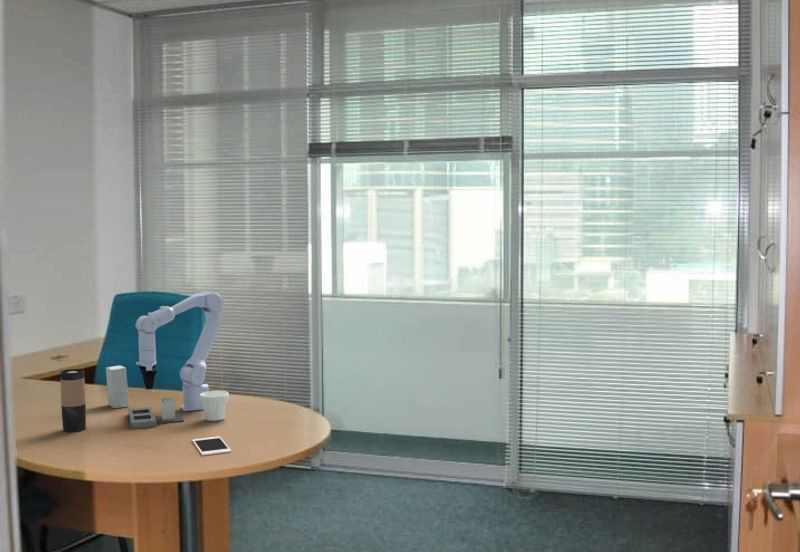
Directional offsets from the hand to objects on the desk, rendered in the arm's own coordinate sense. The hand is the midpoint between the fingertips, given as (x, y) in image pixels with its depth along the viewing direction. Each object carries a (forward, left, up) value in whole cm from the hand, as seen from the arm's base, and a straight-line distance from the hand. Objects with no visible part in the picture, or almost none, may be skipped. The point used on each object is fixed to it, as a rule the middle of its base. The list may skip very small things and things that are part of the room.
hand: (148, 387), depth 296 cm
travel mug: (+25, +10, -11) cm, 29 cm away
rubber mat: (-6, +9, -10) cm, 15 cm away
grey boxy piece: (-6, +9, -10) cm, 15 cm away
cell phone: (-15, +49, -11) cm, 52 cm away
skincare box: (+10, -21, -11) cm, 26 cm away
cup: (-21, +15, -11) cm, 28 cm away
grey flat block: (+3, +6, -10) cm, 12 cm away
